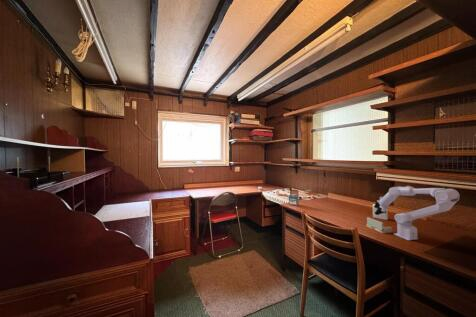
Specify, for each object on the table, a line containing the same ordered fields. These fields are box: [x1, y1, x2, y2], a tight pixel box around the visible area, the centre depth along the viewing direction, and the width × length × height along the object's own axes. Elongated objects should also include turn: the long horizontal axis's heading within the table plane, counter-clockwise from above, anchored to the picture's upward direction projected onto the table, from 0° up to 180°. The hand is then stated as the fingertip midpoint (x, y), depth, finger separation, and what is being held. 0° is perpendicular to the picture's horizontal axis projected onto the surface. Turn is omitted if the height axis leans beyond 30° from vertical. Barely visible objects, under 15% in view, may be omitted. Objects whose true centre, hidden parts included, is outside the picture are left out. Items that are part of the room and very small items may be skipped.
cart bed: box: [366, 223, 393, 234], centre depth 135 cm, size 13×8×4 cm, turn 10°
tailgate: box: [366, 217, 384, 230], centre depth 135 cm, size 12×1×5 cm, turn 10°
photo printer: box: [372, 203, 389, 221], centre depth 156 cm, size 10×4×12 cm, turn 39°
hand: (375, 210), depth 140 cm, fingers open, 7 cm apart
